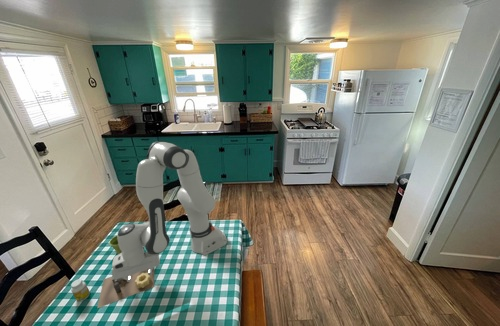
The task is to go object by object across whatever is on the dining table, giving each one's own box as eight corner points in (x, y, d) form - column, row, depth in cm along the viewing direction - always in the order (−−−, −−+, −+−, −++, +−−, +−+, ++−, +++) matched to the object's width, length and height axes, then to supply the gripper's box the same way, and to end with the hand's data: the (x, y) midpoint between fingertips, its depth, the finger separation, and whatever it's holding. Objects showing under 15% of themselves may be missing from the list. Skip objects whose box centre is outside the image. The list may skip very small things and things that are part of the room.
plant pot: (111, 249, 125) (107, 239, 122) (128, 242, 131) (125, 231, 128) (115, 259, 119) (110, 247, 115) (132, 250, 124) (129, 239, 121)
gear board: (154, 264, 115) (152, 255, 112) (155, 288, 101) (152, 279, 99) (104, 281, 106) (100, 272, 103) (98, 310, 92) (93, 301, 90)
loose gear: (150, 274, 107) (149, 270, 106) (150, 285, 101) (149, 281, 100) (136, 279, 105) (135, 275, 103) (136, 290, 99) (134, 286, 98)
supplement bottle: (92, 292, 100) (86, 278, 97) (82, 303, 95) (75, 289, 92) (84, 290, 101) (77, 276, 98) (73, 300, 97) (66, 287, 93)
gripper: (157, 244, 102) (162, 264, 107) (110, 258, 94) (117, 279, 99) (158, 253, 97) (162, 274, 102) (107, 268, 89) (115, 290, 94)
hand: (140, 276), depth 101 cm, fingers open, 8 cm apart
